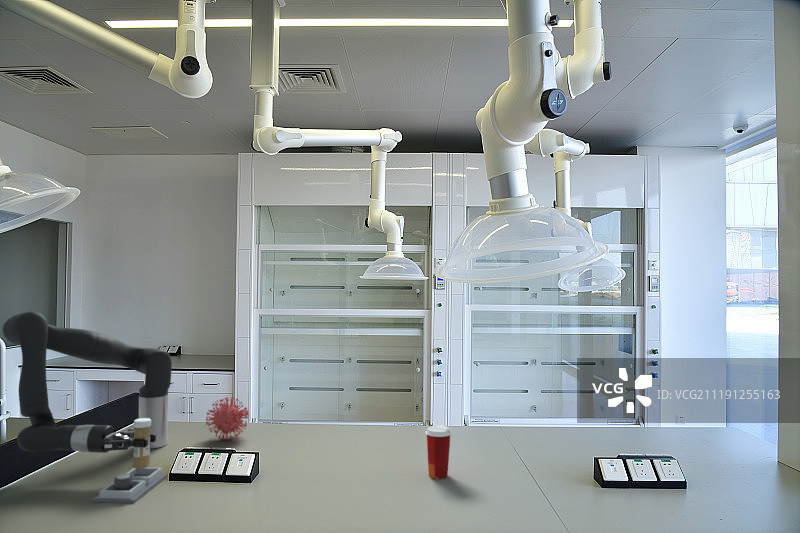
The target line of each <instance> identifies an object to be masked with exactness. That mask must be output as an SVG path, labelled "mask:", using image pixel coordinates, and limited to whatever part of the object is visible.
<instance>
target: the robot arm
mask: <svg viewBox="0 0 800 533" xmlns="http://www.w3.org/2000/svg"><path fill="white" fill-rule="evenodd" d="M2 334H3V336H4V338H5V339H6V340H7V341H9V342H10V343H11V344H14V345H17V346H20V349H21V355H22V356H21V358H22V360H21V362H22V363H21V371H20V376H19V381H18V402H19V411H20V415H21V416H22V417H24V418H29V420H30V423H31V425H29V426H26V427H24V428H23V429H21V430H20V432H19V433H18V434H17V436H16V443H17V446H18V447H19V448H20V449H21V450H23V451H25V452H31V453H35V452H36V453H38V452H48V451H51V452H52V451H71V452H73V451H75V452H81V453H101V454H102V453H103V454H106V453H108V452H109V451H126V450H129V449H133V446H134V447H147V446H148V439H136V438H135V439H134V428H128V429H127V431H125V430H119V431H117V432H116V430H115V428H114V427H113V425H109V424H107V425H106V424H104V425H103V424H82V425H80V424H79V425H78V424H76V425H74V424H67V425H66V424H64V425H59V426H57V423H56V421H55V418H54V416H53V413H52V411H51V409H50V406H49V395H48V394H49V393H48V385H47V384H48V383H47V382H48V381H47V366H46V365H47V350H49V351H54V352H56V353H60V354H62V355H63V354H64V355H67V356H69V357H73V358H76V359H80V360H84V361H89V362H93V363H97V364H102V365H103V364H104V365H114V366H115V365H116V366H121V367H125V368H128V369H130V370H134V371H135V372H138V373H141V374H143V375H145V379H144V384H143V386H141V387H139V390H138V419H140V418H149V419H151V427H150V449H157V448H161V447H165V446H166V445H167V444H168V426H169V425H168V416H169V415H168V414H169V412H168V411H169V403H168V402H169V389H170V387H171V384H172V383H171V381H172V379H171V378H172V366H173V364H172V357H171V355H170V353H169V352H168V351H166V350H164V349H158V348H152V347H143V346H136V345H132V344H127V343H125V342H123V341H121V340H119V339H117V338H115V337H112V336H111V335H107V334H104V333H101V332H97V331H93V330H89V329H82V328H71V327H70V328H69V327H60V326H56V325H52V324H49V322H48V320H47V318H46V317H45V316H44V315H43V314H42V313H40V312H38V311H26V312H22V313H18V314H15V315H13V316H11V317H10V318H8V319H7V320H6V321H5V322H4V323H3V325H2Z"/></svg>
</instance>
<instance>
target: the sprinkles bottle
mask: <svg viewBox="0 0 800 533" xmlns="http://www.w3.org/2000/svg"><path fill="white" fill-rule="evenodd" d="M150 427H151V419H149V418H140V419H139V418H136V419H134V421H133V429H134V439H135V438H136V439H148V446H147V447H134V446H133V448H132V450H133V452H132V456H133V459H132V460H133V461H132V469H133V468H136V469H142V468H146V467H150V465H151V464H150V453H151V448H150Z"/></svg>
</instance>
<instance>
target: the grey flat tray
mask: <svg viewBox="0 0 800 533" xmlns="http://www.w3.org/2000/svg"><path fill="white" fill-rule="evenodd" d="M163 470H164V468H163V467H153V466H152V467H150V466H148V467H146V468H142V469H136V468H133V467H132V469H131V470H128V471H127V472H126V473H120V474H118V475H116V476H115V477H114V479H113V481H112V482H111V483H110V484H108V485H106V486H105V487H103V488H102V489H101V490H99V494H98V495H96V496H95V497H94V498H93V499H92V502H93V503H122V504H123V503H125V504H127V503H128V504H135V503H136V502H138V501H139V500H140V499H142V497H144V496H145V495H146V494H147V493H149V492H150V491H151V490H153V489H154V488H155V487H156V486H158V485H159V484H160V483H162V482H163V481H165V479H167V477H168V473H163V472H164V471H163Z"/></svg>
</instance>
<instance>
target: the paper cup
mask: <svg viewBox="0 0 800 533" xmlns="http://www.w3.org/2000/svg"><path fill="white" fill-rule="evenodd" d="M424 433H425V434H426V445H427V447H426V448H427V450H426V451H427V467H428V469H427V470H428V477H429V478H431V479H434V478H436V479H437V480H442V478H443V479H446V478H447V477H448V474H449V462H450V461H449V459H450V449H451V448H450V447H451V435H452V431H451V428H449V426H444V425H431V426H428V427H427V428H426V431H425V432H424ZM436 479H435V480H436Z"/></svg>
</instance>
